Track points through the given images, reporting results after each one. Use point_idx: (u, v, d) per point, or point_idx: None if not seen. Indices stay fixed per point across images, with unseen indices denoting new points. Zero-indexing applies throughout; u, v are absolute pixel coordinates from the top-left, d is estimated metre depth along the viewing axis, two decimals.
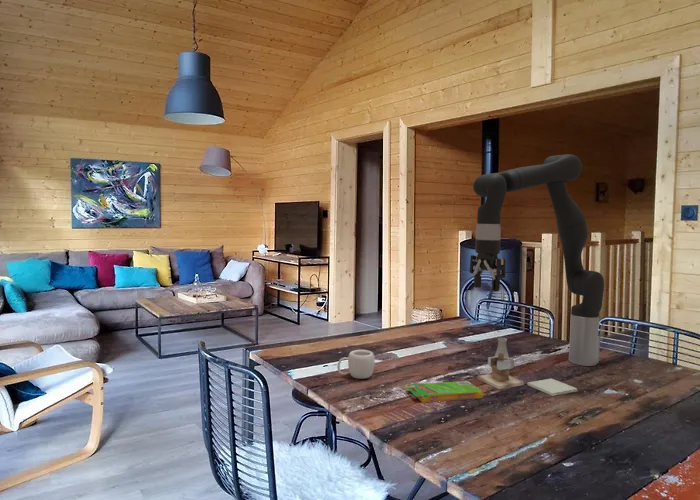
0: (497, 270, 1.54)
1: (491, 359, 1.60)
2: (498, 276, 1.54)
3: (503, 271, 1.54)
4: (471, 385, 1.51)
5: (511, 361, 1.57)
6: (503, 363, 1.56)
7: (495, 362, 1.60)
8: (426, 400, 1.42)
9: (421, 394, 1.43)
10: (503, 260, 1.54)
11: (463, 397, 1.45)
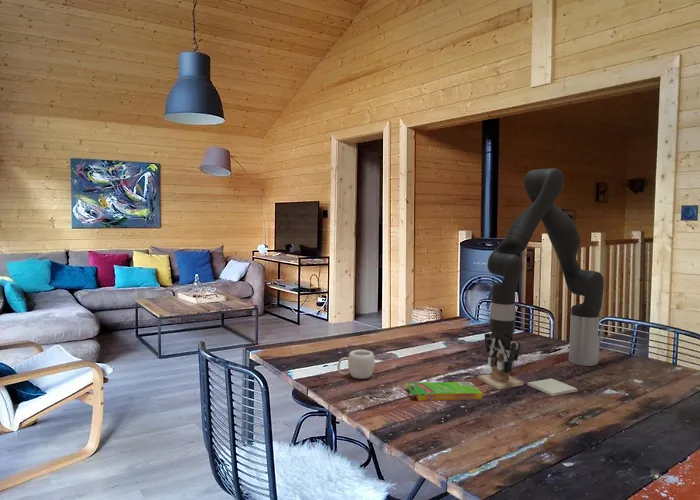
0: (510, 353, 1.54)
1: (491, 359, 1.60)
2: (510, 359, 1.54)
3: (516, 354, 1.54)
4: (472, 386, 1.50)
5: None
6: (503, 363, 1.56)
7: (495, 362, 1.60)
8: (422, 398, 1.43)
9: (418, 392, 1.44)
10: (518, 345, 1.53)
11: (461, 397, 1.44)
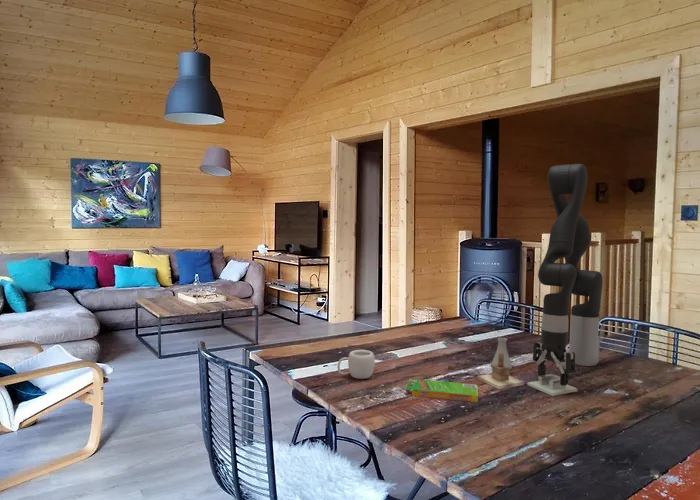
0: (566, 364, 1.48)
1: (542, 378, 1.55)
2: (568, 371, 1.48)
3: (573, 365, 1.48)
4: (474, 388, 1.48)
5: None
6: (556, 382, 1.51)
7: (546, 381, 1.56)
8: (416, 394, 1.47)
9: (412, 388, 1.48)
10: (573, 354, 1.48)
11: (455, 398, 1.44)
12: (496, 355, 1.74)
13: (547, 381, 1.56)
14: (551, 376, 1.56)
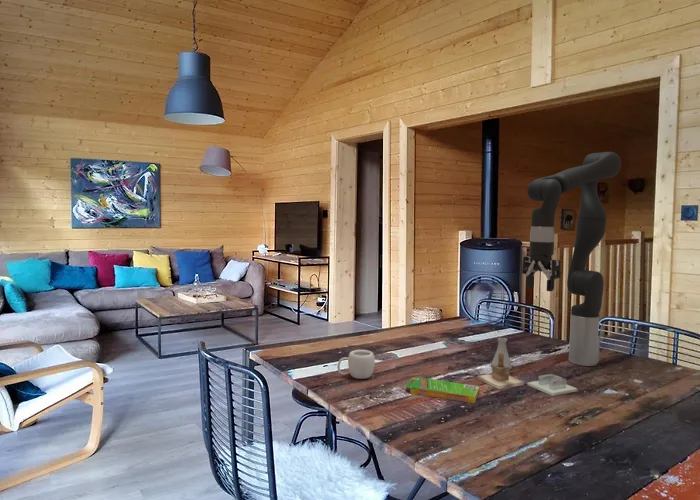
0: (552, 270, 1.61)
1: (542, 378, 1.55)
2: (553, 276, 1.61)
3: (558, 272, 1.62)
4: (474, 390, 1.47)
5: (563, 380, 1.53)
6: (556, 382, 1.51)
7: (546, 381, 1.56)
8: (414, 392, 1.48)
9: (411, 385, 1.49)
10: (558, 261, 1.61)
11: (453, 398, 1.44)
12: (496, 355, 1.74)
13: (547, 381, 1.56)
14: (551, 376, 1.56)
